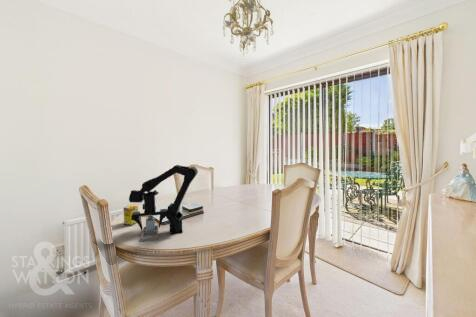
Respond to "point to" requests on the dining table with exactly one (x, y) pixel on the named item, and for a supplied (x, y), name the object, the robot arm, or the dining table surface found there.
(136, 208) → the supplement box
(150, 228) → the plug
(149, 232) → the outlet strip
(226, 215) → the dining table surface
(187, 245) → the dining table surface
